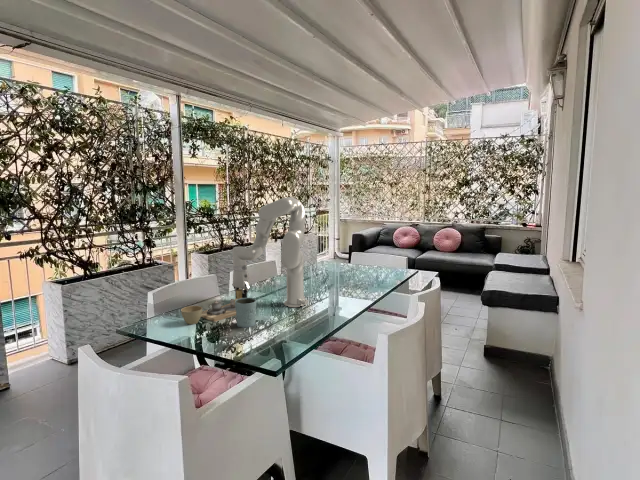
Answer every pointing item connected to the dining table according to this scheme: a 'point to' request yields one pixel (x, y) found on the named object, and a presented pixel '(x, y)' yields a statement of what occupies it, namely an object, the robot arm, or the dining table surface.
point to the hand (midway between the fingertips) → (241, 298)
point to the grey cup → (245, 312)
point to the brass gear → (238, 294)
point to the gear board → (220, 311)
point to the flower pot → (191, 314)
